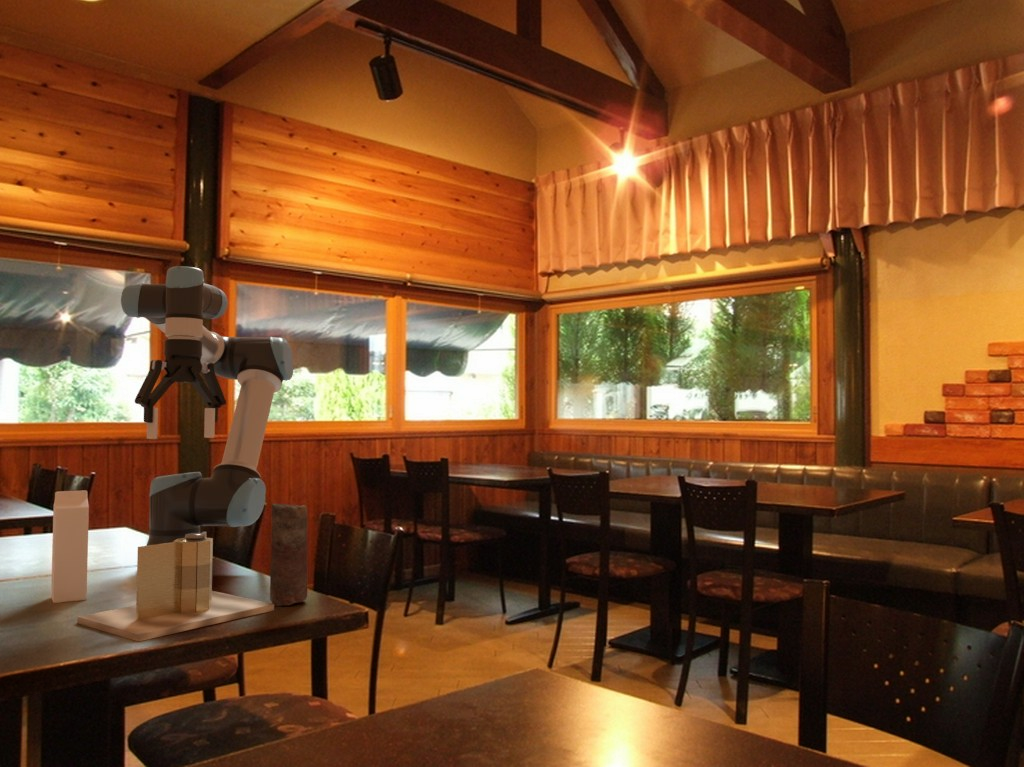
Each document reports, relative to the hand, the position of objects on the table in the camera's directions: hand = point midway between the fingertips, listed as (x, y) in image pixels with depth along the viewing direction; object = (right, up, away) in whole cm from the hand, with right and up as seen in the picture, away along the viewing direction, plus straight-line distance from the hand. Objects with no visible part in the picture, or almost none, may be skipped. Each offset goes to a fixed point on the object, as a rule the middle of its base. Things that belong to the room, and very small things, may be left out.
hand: (181, 438), depth 180 cm
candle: (+26, -33, -10) cm, 43 cm away
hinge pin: (+10, -31, -21) cm, 39 cm away
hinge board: (+8, -32, -22) cm, 40 cm away
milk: (-20, -33, -8) cm, 39 cm away
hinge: (+7, -31, -21) cm, 38 cm away
